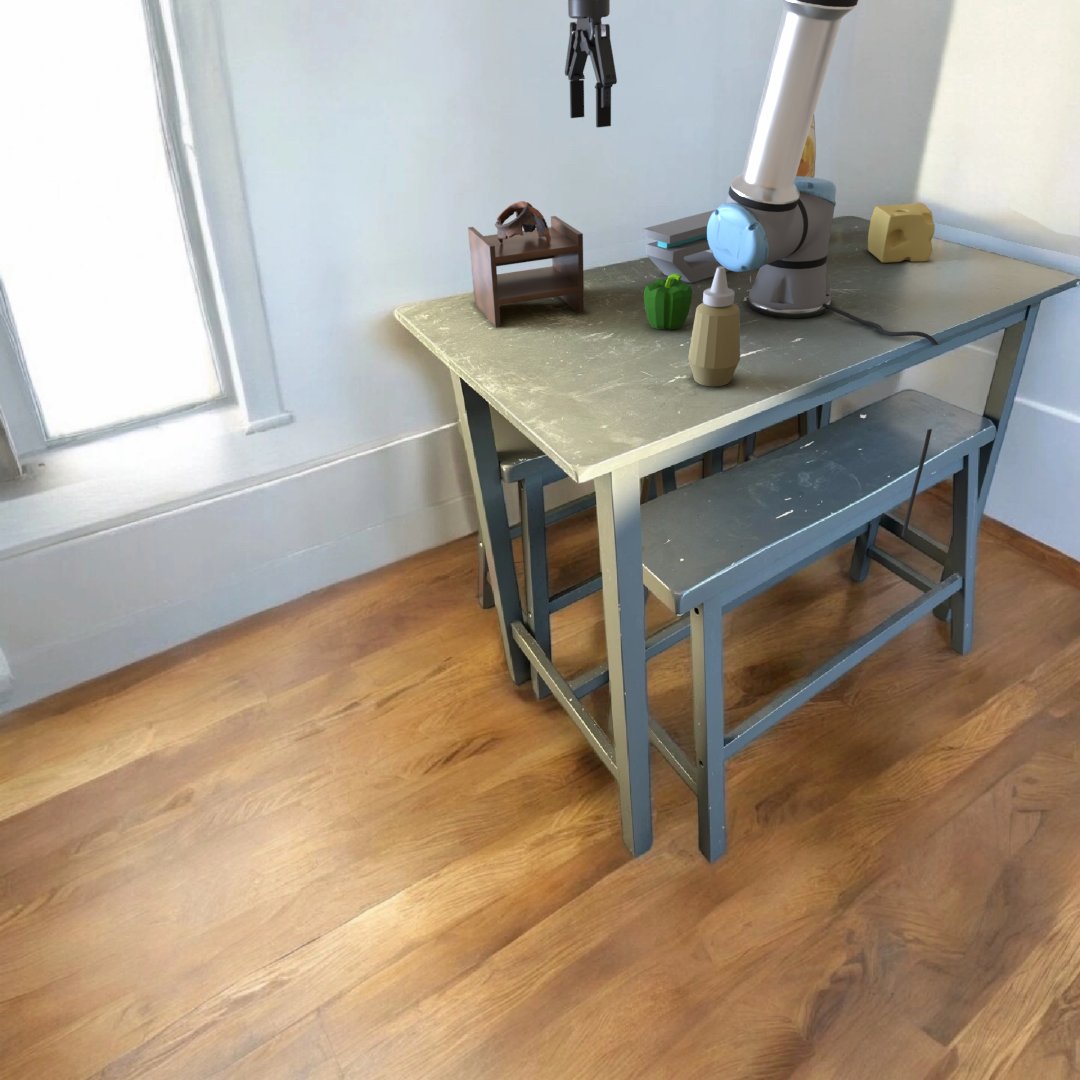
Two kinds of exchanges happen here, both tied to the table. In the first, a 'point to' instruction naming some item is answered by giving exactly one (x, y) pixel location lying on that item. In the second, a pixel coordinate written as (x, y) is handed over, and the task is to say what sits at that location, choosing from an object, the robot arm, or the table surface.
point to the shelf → (528, 283)
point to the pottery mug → (521, 222)
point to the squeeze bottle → (715, 335)
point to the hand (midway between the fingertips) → (590, 122)
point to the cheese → (901, 232)
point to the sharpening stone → (683, 248)
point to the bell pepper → (667, 302)
